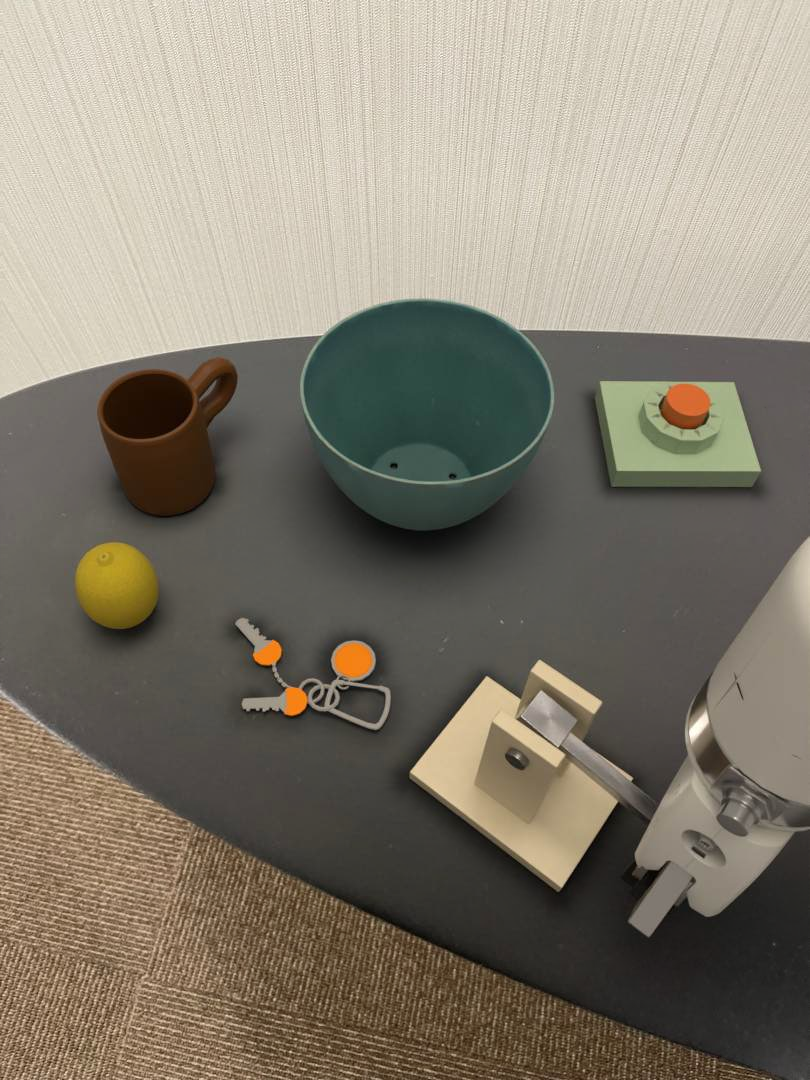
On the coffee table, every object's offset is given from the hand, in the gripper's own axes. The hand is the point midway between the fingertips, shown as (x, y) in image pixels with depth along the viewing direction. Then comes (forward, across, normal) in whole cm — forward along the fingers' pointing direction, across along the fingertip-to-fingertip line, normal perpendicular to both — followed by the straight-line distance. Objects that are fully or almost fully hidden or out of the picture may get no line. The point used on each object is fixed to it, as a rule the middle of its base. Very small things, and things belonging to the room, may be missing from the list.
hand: (670, 850), depth 54 cm
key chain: (+5, -3, +26) cm, 27 cm away
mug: (+5, +5, +46) cm, 47 cm away
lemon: (+5, -8, +40) cm, 41 cm away
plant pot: (+5, +16, +30) cm, 35 cm away
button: (+2, +33, +16) cm, 37 cm away
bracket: (+5, 0, +10) cm, 11 cm away
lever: (-2, 0, +6) cm, 6 cm away
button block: (+5, +33, +16) cm, 38 cm away
